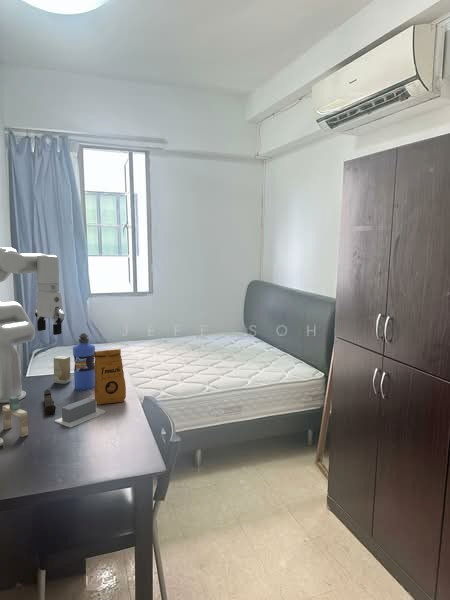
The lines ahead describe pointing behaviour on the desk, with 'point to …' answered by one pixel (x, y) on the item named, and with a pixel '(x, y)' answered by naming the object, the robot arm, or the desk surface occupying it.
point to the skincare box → (62, 369)
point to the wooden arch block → (14, 409)
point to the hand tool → (49, 403)
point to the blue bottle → (84, 364)
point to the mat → (81, 419)
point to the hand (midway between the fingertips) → (49, 332)
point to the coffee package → (109, 377)
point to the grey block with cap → (79, 410)
